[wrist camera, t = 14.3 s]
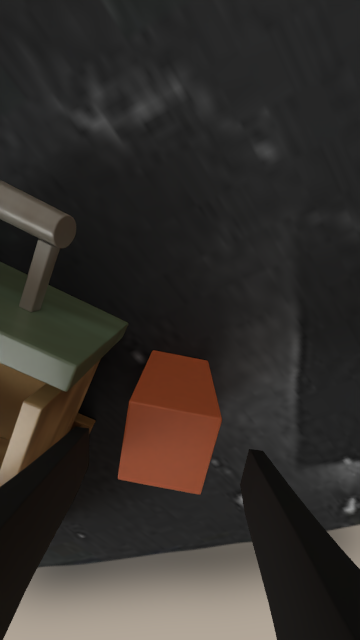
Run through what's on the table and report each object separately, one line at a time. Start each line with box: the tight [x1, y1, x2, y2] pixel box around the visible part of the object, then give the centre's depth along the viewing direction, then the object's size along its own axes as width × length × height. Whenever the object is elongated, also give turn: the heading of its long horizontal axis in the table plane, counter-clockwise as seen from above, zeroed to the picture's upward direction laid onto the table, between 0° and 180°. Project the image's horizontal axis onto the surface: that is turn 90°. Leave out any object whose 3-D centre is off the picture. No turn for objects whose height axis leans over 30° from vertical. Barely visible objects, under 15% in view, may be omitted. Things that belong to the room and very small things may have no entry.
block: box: [118, 350, 222, 494], centre depth 12 cm, size 4×4×6 cm
